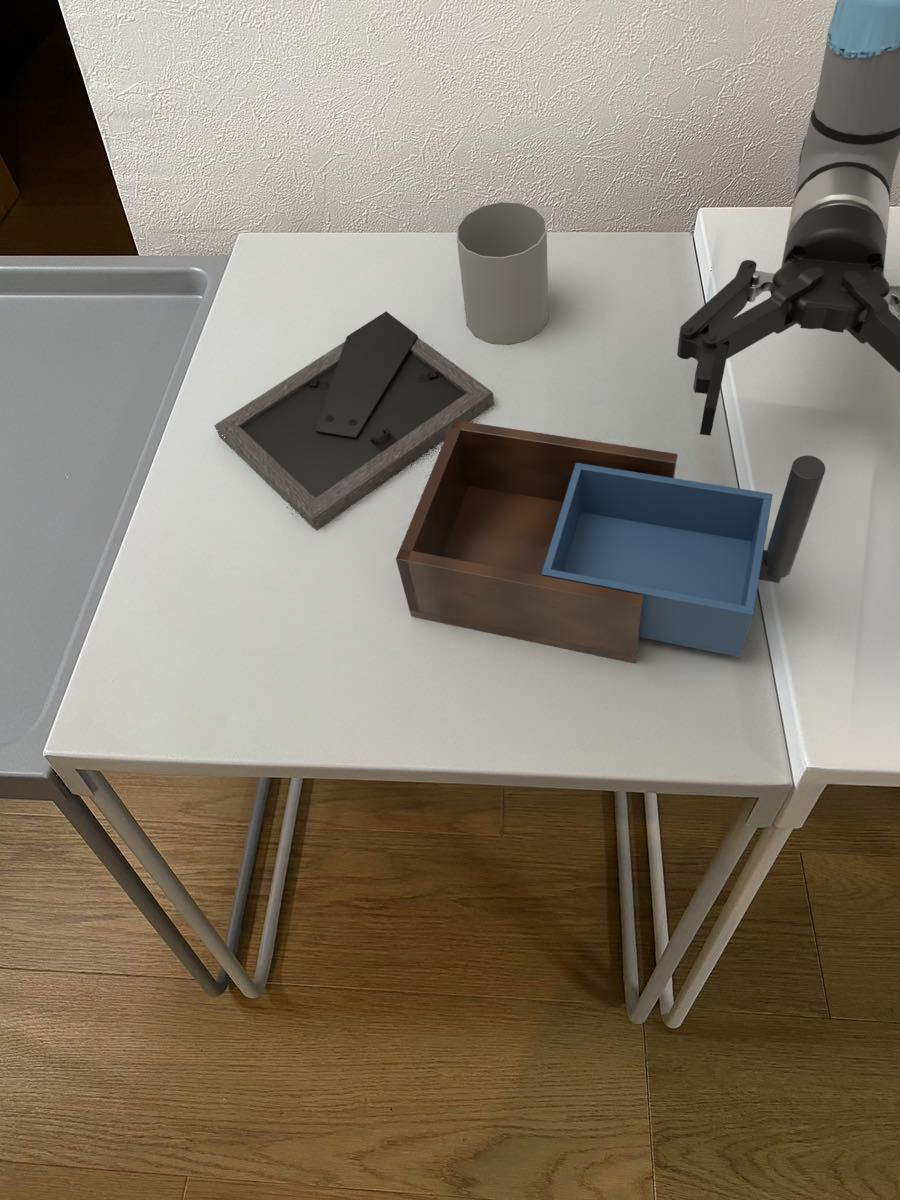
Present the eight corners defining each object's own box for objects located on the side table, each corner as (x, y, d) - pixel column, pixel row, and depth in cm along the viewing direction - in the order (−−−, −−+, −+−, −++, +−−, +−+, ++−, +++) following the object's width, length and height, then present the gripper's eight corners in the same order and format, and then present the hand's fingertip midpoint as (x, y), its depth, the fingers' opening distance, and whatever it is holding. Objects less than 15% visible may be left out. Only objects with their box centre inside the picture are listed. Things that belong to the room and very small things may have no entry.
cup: (457, 340, 93) (446, 254, 85) (475, 286, 97) (467, 200, 89) (541, 347, 91) (538, 260, 83) (555, 292, 95) (554, 204, 87)
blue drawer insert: (787, 546, 74) (833, 407, 61) (770, 664, 68) (816, 537, 56) (575, 509, 78) (576, 372, 65) (543, 617, 73) (537, 490, 60)
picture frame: (389, 326, 95) (219, 436, 89) (386, 311, 93) (212, 421, 87) (493, 404, 88) (315, 530, 81) (492, 388, 86) (310, 516, 80)
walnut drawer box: (668, 517, 78) (677, 453, 71) (634, 663, 71) (641, 606, 64) (462, 483, 83) (452, 419, 76) (410, 616, 75) (395, 558, 69)
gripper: (988, 297, 74) (986, 500, 64) (673, 266, 81) (624, 446, 70) (1026, 214, 68) (1031, 423, 58) (682, 187, 74) (629, 371, 64)
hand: (808, 436), depth 64 cm, fingers open, 13 cm apart
